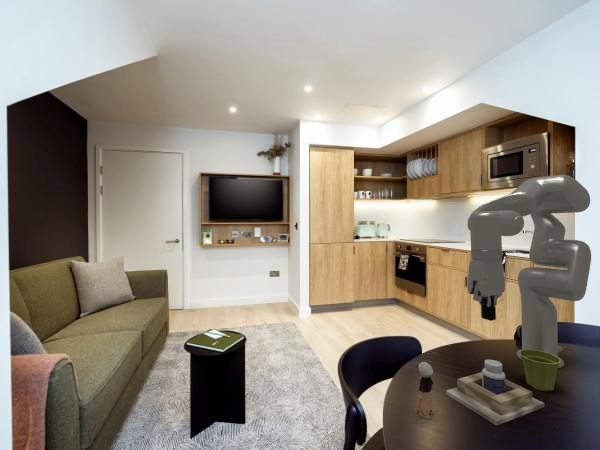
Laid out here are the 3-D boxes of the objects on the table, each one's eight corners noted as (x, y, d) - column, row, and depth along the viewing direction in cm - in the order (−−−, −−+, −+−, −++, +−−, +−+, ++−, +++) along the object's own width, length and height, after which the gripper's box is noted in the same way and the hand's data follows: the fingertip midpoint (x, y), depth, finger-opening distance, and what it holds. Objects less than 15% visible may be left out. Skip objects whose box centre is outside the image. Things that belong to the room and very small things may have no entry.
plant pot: (561, 399, 79) (560, 366, 79) (517, 386, 85) (517, 356, 85) (562, 385, 86) (561, 355, 86) (521, 374, 92) (521, 346, 92)
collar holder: (490, 380, 88) (490, 367, 88) (544, 406, 76) (544, 391, 76) (446, 394, 82) (445, 379, 82) (496, 425, 69) (496, 408, 69)
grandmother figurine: (420, 404, 77) (420, 355, 77) (436, 409, 75) (436, 359, 75) (413, 420, 71) (412, 367, 71) (430, 426, 69) (429, 371, 69)
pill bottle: (509, 403, 76) (509, 368, 76) (487, 400, 77) (486, 366, 77) (500, 391, 81) (499, 359, 81) (479, 389, 82) (478, 357, 82)
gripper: (490, 252, 91) (492, 311, 92) (456, 256, 85) (458, 319, 86) (516, 254, 84) (518, 318, 85) (481, 259, 78) (483, 328, 79)
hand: (488, 318), depth 85 cm, fingers closed
